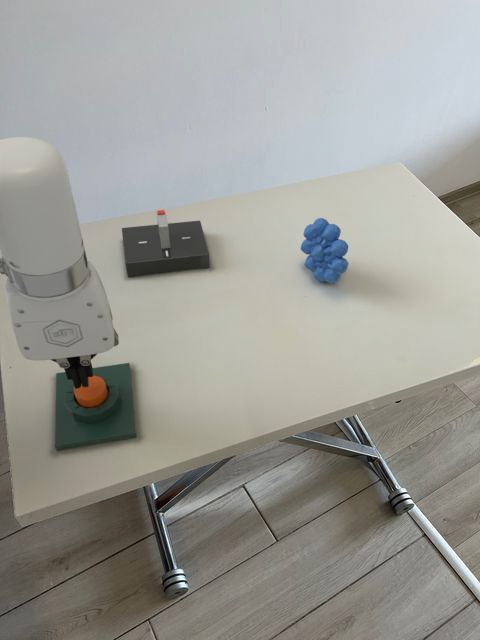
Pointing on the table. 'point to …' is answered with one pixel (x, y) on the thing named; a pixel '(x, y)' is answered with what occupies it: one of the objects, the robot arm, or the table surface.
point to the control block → (95, 411)
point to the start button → (92, 392)
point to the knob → (163, 229)
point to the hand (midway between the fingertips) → (81, 379)
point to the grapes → (324, 251)
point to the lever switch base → (152, 259)
